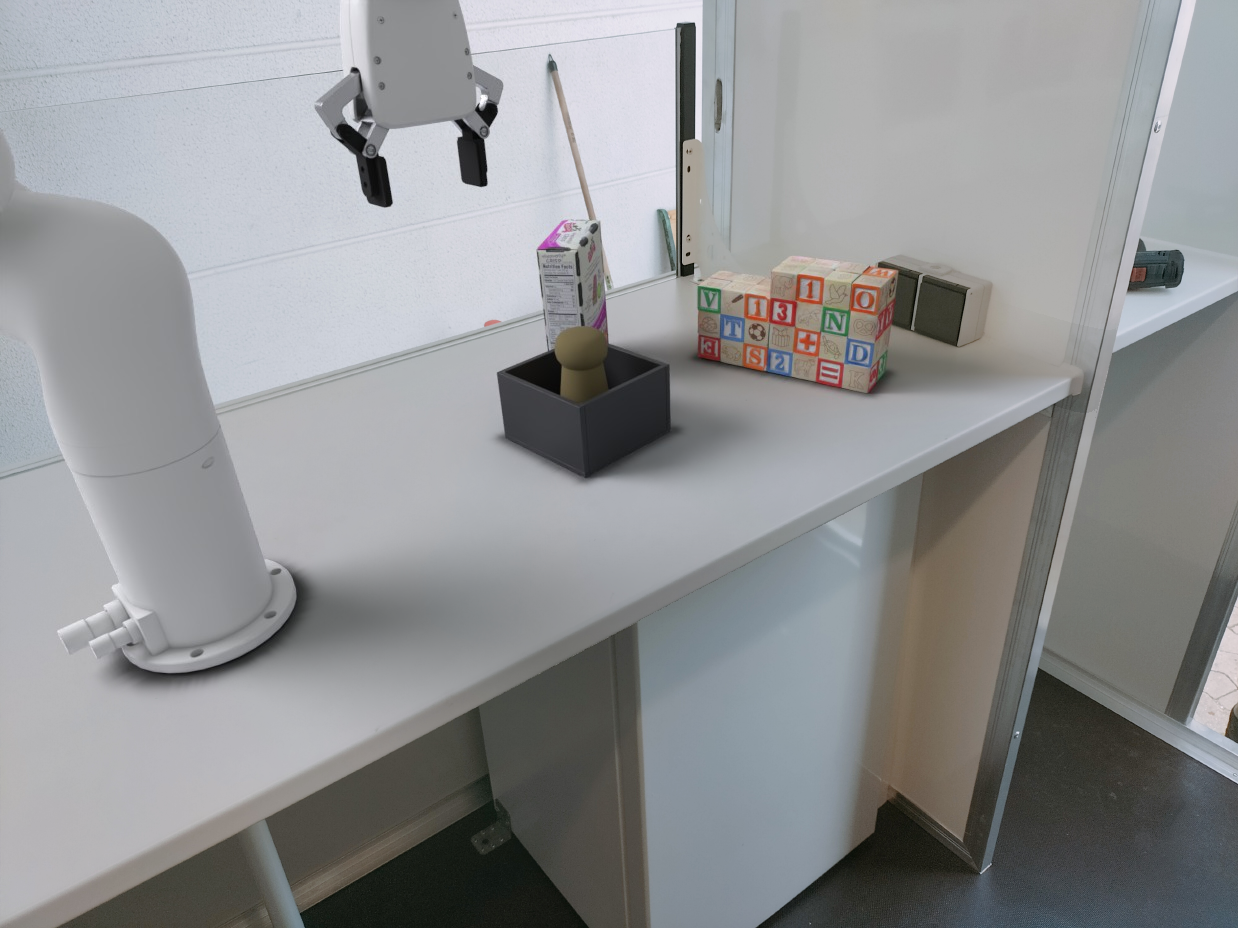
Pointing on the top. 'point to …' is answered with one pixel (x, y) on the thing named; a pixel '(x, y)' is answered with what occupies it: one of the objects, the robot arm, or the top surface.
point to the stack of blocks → (801, 320)
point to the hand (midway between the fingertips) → (429, 194)
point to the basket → (586, 410)
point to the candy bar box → (572, 278)
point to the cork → (582, 362)
